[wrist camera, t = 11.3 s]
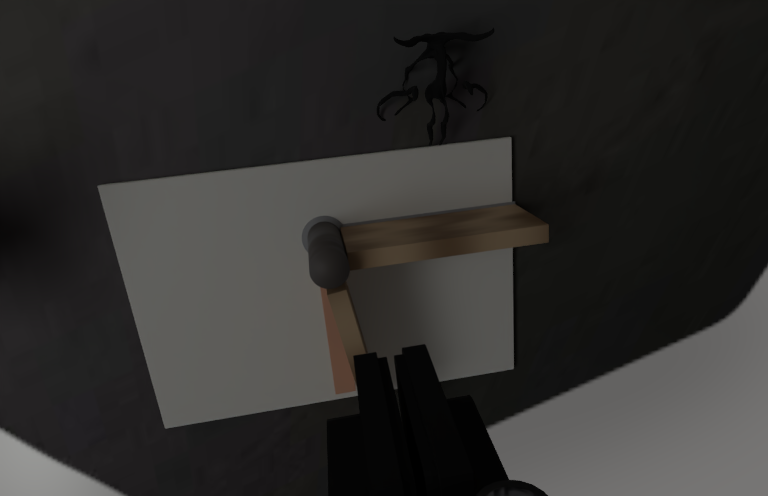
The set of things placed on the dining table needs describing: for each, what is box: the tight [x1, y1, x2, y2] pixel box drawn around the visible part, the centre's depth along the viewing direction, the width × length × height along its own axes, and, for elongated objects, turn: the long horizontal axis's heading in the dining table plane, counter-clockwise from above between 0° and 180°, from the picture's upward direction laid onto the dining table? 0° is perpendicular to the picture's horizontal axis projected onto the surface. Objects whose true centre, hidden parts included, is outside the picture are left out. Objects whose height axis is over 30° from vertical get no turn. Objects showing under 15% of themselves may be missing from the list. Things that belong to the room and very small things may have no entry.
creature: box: [377, 28, 494, 147], centre depth 33 cm, size 8×5×8 cm
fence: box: [307, 204, 549, 289], centre depth 35 cm, size 15×2×7 cm, turn 95°
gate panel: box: [327, 281, 368, 386], centre depth 37 cm, size 12×1×6 cm, turn 14°
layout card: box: [98, 137, 515, 429], centre depth 39 cm, size 28×19×1 cm
